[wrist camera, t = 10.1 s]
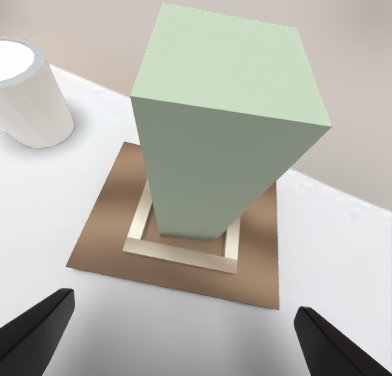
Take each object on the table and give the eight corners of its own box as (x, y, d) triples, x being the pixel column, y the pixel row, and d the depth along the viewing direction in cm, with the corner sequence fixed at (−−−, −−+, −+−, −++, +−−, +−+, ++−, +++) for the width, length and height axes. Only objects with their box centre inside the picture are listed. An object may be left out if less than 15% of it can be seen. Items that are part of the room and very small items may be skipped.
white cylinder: (56, 96, 22) (13, 25, 16) (93, 128, 21) (62, 64, 15) (-6, 126, 20) (-88, 53, 13) (32, 165, 18) (-39, 104, 12)
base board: (271, 308, 15) (286, 311, 13) (73, 268, 15) (58, 265, 13) (270, 180, 21) (280, 170, 19) (126, 149, 20) (121, 134, 18)
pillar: (213, 241, 16) (332, 126, 4) (159, 236, 15) (130, 95, 4) (215, 193, 18) (296, 28, 6) (167, 187, 18) (162, 2, 6)
